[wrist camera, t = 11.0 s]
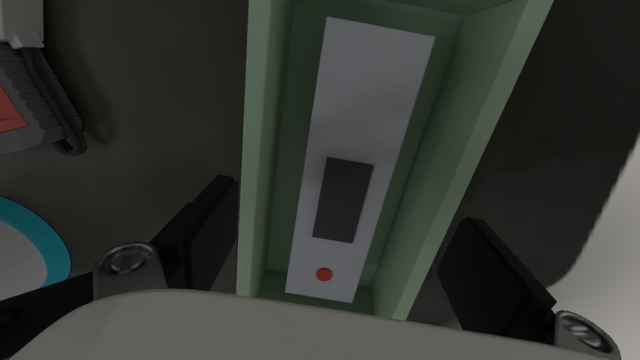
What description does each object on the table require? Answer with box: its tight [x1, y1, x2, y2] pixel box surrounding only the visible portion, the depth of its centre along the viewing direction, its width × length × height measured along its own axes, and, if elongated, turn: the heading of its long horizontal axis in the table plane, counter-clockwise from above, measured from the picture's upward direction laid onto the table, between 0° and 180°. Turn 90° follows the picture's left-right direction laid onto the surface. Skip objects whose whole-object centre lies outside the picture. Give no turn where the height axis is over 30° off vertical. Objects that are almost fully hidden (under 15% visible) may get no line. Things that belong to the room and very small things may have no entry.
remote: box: [285, 16, 436, 303], centre depth 15 cm, size 16×5×3 cm, turn 171°
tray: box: [236, 0, 554, 321], centre depth 15 cm, size 21×10×6 cm, turn 170°
